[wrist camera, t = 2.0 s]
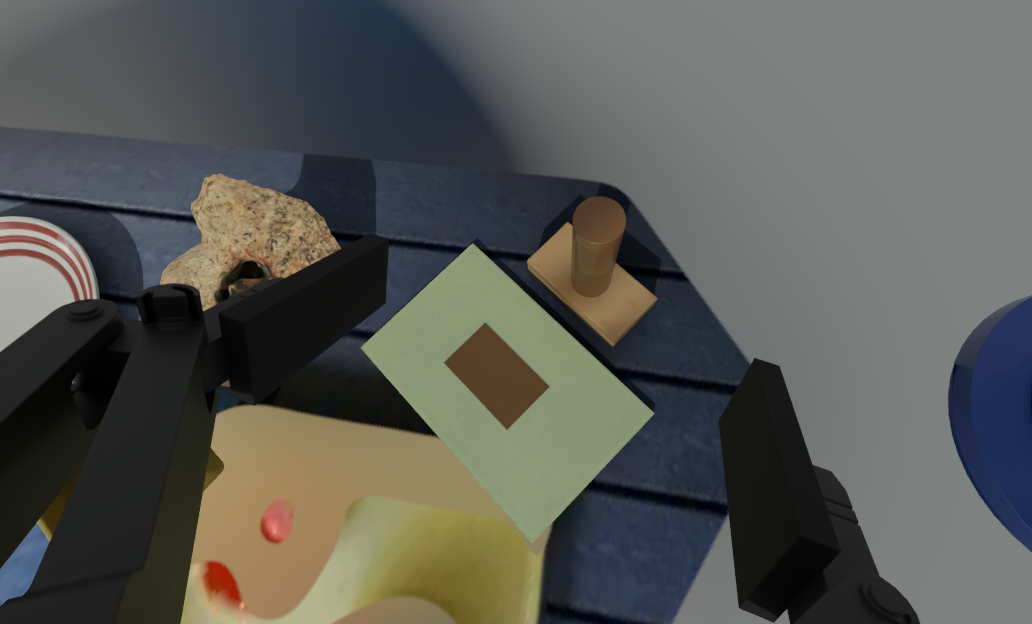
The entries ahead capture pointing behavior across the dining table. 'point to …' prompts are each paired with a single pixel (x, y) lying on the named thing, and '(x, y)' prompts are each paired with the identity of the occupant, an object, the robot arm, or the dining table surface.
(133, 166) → the dining table surface
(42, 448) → the robot arm
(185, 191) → the dining table surface
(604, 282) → the stamp
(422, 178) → the dining table surface
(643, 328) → the dining table surface
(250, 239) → the pitted speckled stone
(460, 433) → the mat
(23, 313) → the dinner plate
